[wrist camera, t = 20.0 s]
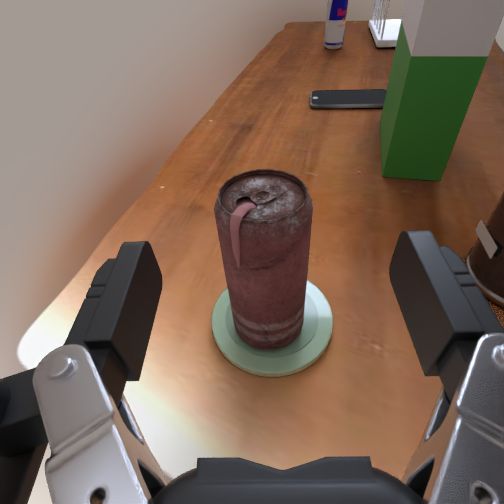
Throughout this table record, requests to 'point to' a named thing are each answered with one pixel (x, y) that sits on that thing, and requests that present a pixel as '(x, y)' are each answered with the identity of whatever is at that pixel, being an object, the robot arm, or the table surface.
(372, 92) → the smartphone
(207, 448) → the table surface
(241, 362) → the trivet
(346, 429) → the table surface
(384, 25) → the file sorter
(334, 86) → the table surface
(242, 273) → the can
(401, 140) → the hardback book
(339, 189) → the table surface
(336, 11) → the beverage can
